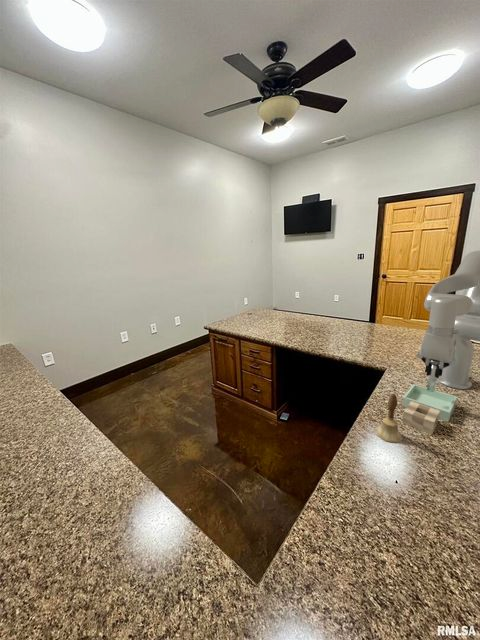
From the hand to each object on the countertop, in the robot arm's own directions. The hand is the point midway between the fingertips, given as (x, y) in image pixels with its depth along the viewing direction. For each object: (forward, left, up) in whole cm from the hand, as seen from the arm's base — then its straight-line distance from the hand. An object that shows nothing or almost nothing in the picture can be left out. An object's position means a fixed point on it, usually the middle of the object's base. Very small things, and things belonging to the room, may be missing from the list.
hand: (433, 375), depth 100 cm
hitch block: (+14, +1, -14) cm, 19 cm away
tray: (0, 0, -14) cm, 14 cm away
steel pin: (0, 0, -7) cm, 7 cm away
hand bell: (+28, -5, -14) cm, 32 cm away
